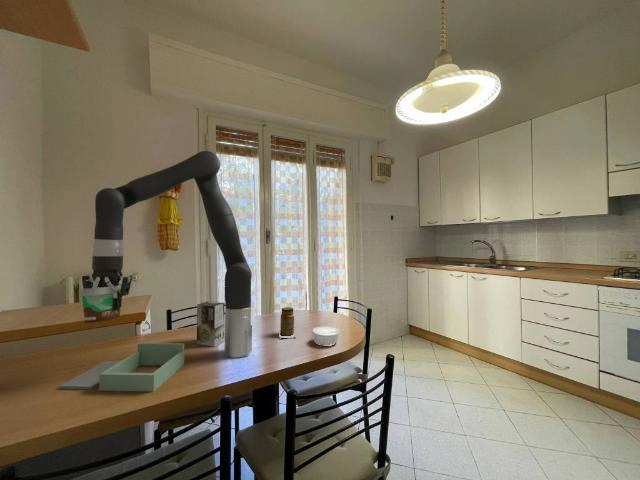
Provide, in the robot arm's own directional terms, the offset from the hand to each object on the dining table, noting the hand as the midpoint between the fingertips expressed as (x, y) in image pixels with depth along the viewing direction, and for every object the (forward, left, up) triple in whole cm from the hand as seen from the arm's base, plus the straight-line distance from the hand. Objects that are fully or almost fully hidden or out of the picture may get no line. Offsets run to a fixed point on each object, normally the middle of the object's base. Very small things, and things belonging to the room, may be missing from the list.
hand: (105, 309), depth 85 cm
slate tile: (+2, 0, -20) cm, 20 cm away
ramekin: (-68, -31, -21) cm, 77 cm away
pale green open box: (-12, 0, -20) cm, 24 cm away
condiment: (-51, -39, -21) cm, 67 cm away
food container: (-1, 0, -3) cm, 3 cm away
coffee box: (-21, -29, -21) cm, 41 cm away
